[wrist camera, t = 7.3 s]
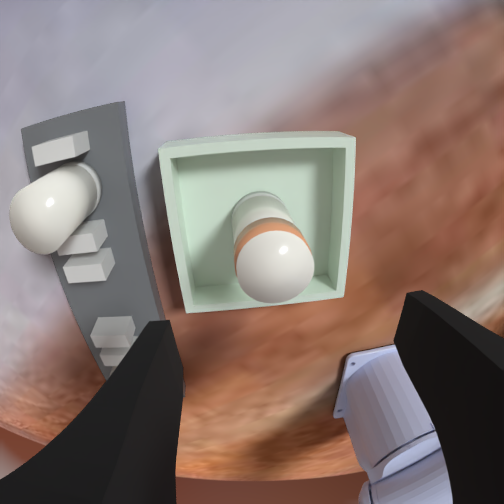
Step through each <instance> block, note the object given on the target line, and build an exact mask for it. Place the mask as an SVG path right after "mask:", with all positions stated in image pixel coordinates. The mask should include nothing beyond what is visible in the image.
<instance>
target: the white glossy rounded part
mask: <svg viewBox="0 0 504 504" xmlns="http://www.w3.org/2000/svg"><path fill="white" fill-rule="evenodd" d="M101 198H102V182H101V179H100V177H99V175H98V173H97V172H96V170H95V169H94V168H93V167H92V166H91V165H89V164H88V163H85V162H83V161H70V162H67V163H65V164H63V165H62V166H60V167H58V168H57V169H55V170H53V171H52V172H50V173H48V174H46V175H45V176H43V177H41V178H39V179H38V180H36V181H34V182H33V183H31V184H29V185H28V186H26V187H24V188H23V189H21V190H20V191H19V192H17V193H16V195H15V196H14V198H13V199H12V202H11V205H10V210H9V218H10V224H11V227H12V230H13V232H14V234H15V236H16V238H17V239H18V241H19V242H20V243H21V244H22V245H23V246H24V247H25V248H27V249H28V250H30V251H31V252H34V253H36V254H42V255H46V254H50V253H53V252H55V251H56V250H57V249H58V248H59V247H60V246H61V245H62V244H63V243H64V242H65V240H66V239H67V238H68V237H69V236H70V235H71V234H72V233H73V232H74V230H75V229H76V228H77V227H78V226H79V225H80V224H81V223H82V222H83V221H84V220H85V219H86V218H87V217H88V216H89V215H90V214H91V213H92V212H93V211H94V210H95V209H96V208H97V206H98V205H99V203H100V201H101Z"/></svg>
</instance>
